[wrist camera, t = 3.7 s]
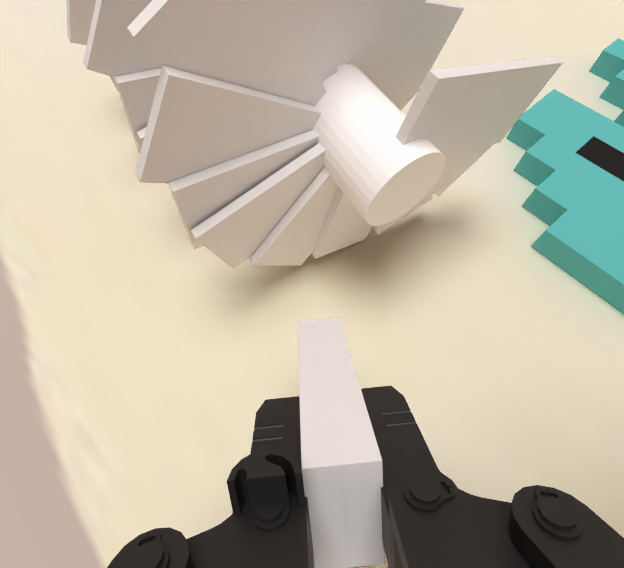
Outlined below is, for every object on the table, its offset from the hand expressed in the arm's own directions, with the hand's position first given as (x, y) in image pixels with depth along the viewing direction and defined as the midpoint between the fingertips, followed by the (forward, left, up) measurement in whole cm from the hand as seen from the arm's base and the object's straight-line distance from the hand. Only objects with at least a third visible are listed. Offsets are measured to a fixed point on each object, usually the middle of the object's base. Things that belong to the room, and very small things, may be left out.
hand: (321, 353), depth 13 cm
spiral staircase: (-1, -17, -7) cm, 19 cm away
